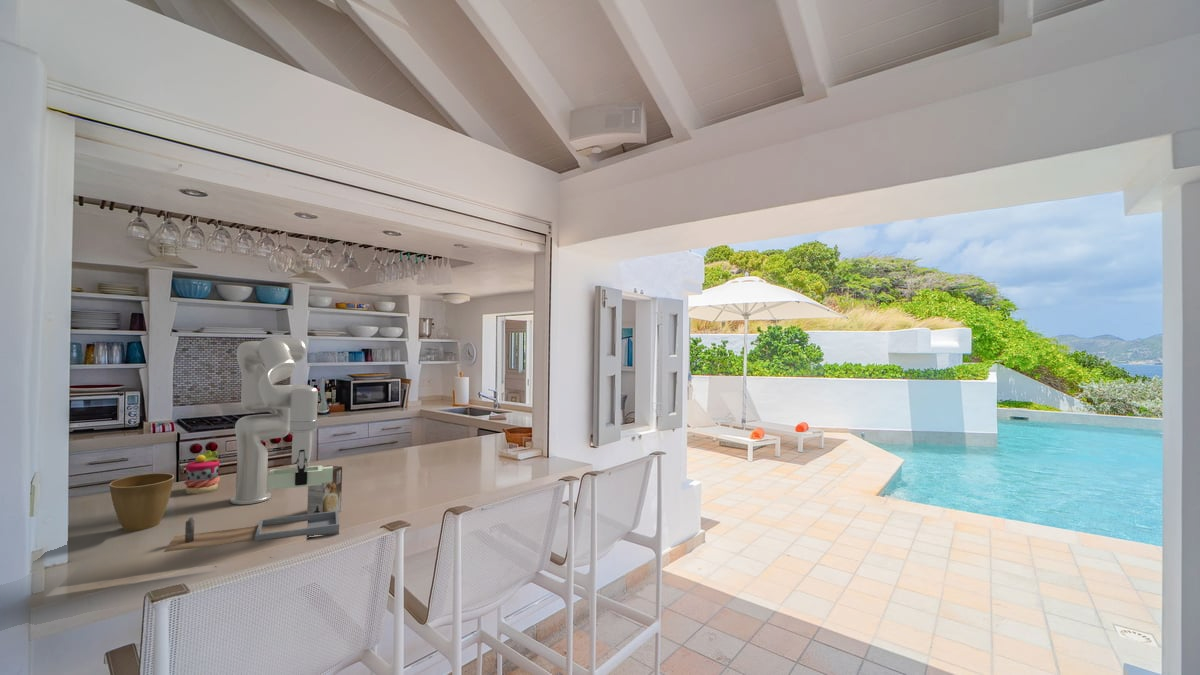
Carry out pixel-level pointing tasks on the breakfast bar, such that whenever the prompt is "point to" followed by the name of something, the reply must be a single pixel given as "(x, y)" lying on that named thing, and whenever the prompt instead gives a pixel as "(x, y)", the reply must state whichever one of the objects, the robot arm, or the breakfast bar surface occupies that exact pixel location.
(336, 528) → the tray
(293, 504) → the breakfast bar surface
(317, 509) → the coffee box
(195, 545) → the board
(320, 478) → the collar
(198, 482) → the cake
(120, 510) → the plant pot
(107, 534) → the breakfast bar surface
